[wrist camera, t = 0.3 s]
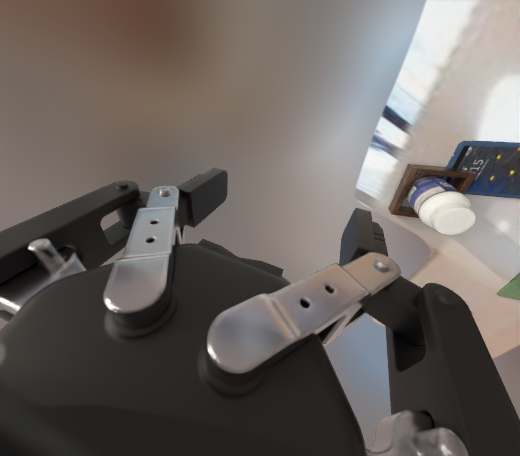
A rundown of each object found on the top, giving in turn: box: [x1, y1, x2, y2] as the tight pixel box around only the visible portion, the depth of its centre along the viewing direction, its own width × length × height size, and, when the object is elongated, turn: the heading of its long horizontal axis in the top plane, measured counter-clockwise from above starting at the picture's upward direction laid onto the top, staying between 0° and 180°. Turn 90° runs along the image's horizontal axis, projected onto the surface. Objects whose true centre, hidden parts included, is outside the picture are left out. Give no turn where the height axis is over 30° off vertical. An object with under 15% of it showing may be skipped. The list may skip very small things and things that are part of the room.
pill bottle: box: [406, 176, 476, 235], centre depth 28 cm, size 5×5×10 cm
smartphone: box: [441, 141, 520, 198], centre depth 28 cm, size 8×1×15 cm
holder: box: [389, 164, 477, 218], centre depth 31 cm, size 8×8×2 cm
